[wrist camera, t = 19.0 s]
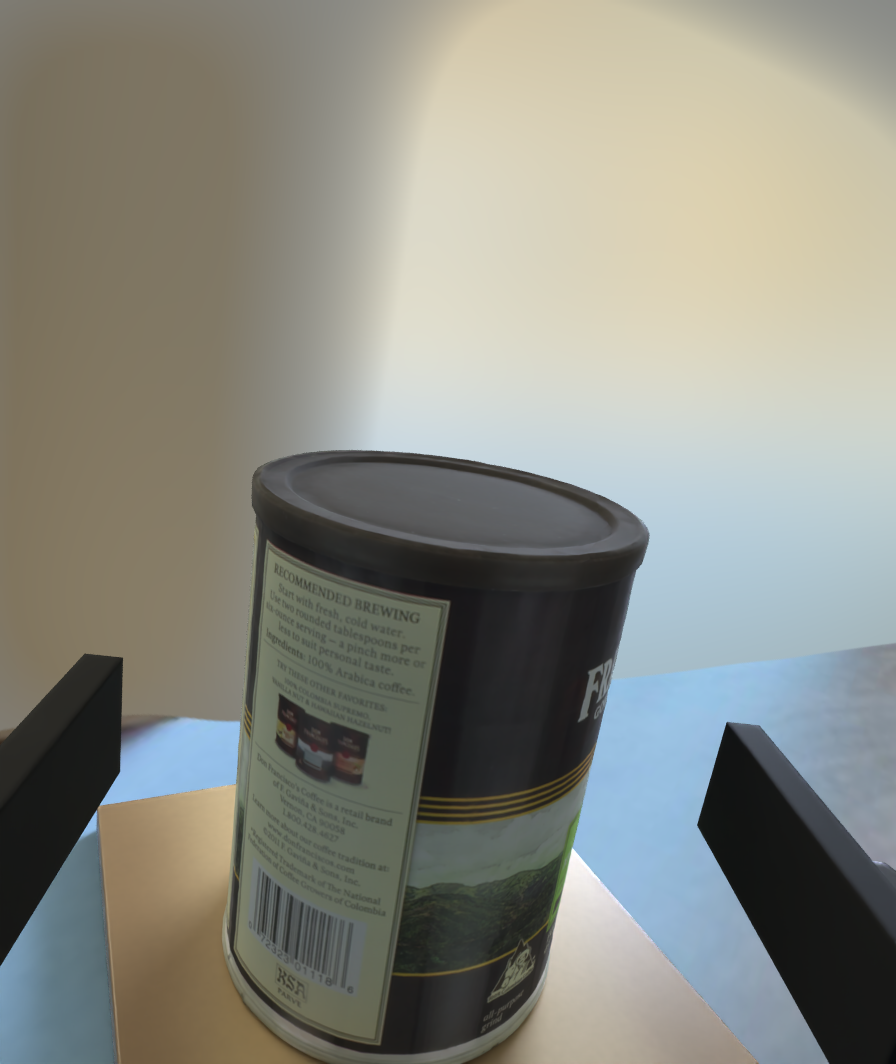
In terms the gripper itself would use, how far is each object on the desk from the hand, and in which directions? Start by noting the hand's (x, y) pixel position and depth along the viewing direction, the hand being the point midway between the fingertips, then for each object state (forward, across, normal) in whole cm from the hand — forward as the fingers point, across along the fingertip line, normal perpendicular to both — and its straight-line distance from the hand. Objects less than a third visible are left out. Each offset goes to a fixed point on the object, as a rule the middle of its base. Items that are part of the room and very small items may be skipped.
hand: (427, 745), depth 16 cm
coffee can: (+5, 0, -10) cm, 11 cm away
